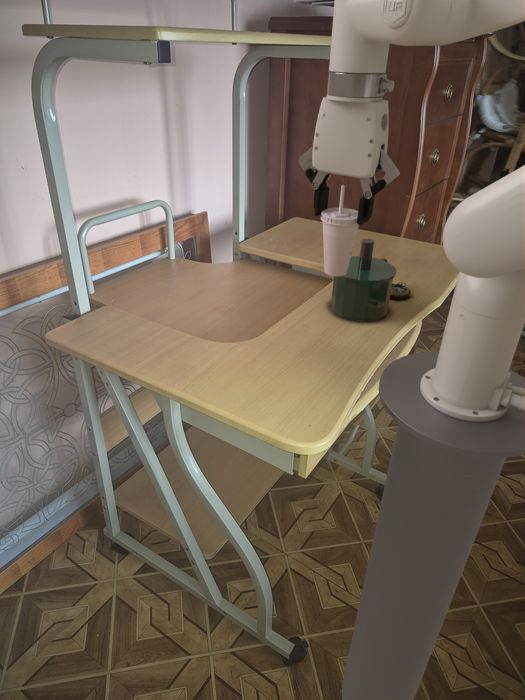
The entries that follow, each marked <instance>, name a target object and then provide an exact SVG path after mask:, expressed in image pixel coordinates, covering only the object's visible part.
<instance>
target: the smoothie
mask: <svg viewBox="0 0 525 700" xmlns="http://www.w3.org/2000/svg"><path fill="white" fill-rule="evenodd" d="M340 186H341V187H340V197H339V207H330V208H328V209H325V210H323V211H322V212H321V215H320V220H321V221H322V240H323V241H322V242H323V243H322V244H323V270H324V273H325V274H326V275H328V276H331V277H334V276H344V275H346V274H347V271H348V267H349V263H350V259H351V256H352V255H353V251H354V248H355V247H354V246H355V242H356V239H357V236H358V235H357V234H358V232H359V227H360V225H358V223H357V216H358V210H356V209H352V208H347V207H344V202H345V201H344V200H345V191H346V184H341V185H340Z"/></svg>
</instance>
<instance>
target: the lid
mask: <svg viewBox="0 0 525 700" xmlns="http://www.w3.org/2000/svg"><path fill="white" fill-rule="evenodd" d="M374 246H375V240H374V239H371V238H363V239H361V242H360V251H359V255H353V256H352V255H351V259H350V263H349V267H348V271H347V274H346V275H344V276H340V277H342V278H345V279H348V280H351V281H356V282H362V283H380V282H385V281H389V280H391V279H393V280H394V278H395V277H396V276H397V267H395V266H394V264H392V263H390V262H388V261H387V262H386V261H384V260H381V258H377V257H373V255H374Z"/></svg>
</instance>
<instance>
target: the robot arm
mask: <svg viewBox="0 0 525 700" xmlns="http://www.w3.org/2000/svg"><path fill="white" fill-rule="evenodd" d="M523 22H525V0H334V2H333V16H332V27H331V40H330V54H329V64H328V75H327V90H326V96H324V97H322V100H321V103H320V106H319V111H318V113H317V118H316V125H315V130H314V136H313V143H312V145H311V146H310V147H309V149H307V150H306V151H305V152H304V153H303V154H302V155H301V156H300V157H299V158H298V160H297V162H298V164H299V166H300V167H301V169H302V170H303V172H304V173H305V177H306V178H307V179H308V180H309V182H310V184H311V188H312V189H313V190H314V193H313V209H314V217H321V212H322V211H323V210H325V209H329V208H328V207H329V197H330V188H329V186H328V182H329V180H330V177H331V176H332V175H336V176H343V177H351V178H356V179H359V182H360V187H361V190H362V196H361V197H360V198H359V201H358V210H357V211H358V216H357V223H358V225H359V226H362V225H364V224H365V223H367V222H369V220H370V219H372V216H373V211H374V203H375V197H376V195H378V194H379V193H381V191H383V190H384V189H385V188H386V187H388V185H390V184H391V183H392V182H393V181H395V180H396V179H397V178H398V177H399V176H400V175H401V172H400V170H399V169H398V167H397V166H396V164H395V163H394V162H393V160H392V159H391V157H390V156H389V155H388V147H389V146H388V144H389V143H388V142H389V129H390V128H389V125H390V124H389V123H390V122H389V120H390V119H389V118H390V117H389V110H390V109H389V101H388V100H386V99H383V97H384V96H385V94H386V93H388V92H389V93H390V92H391V93H392V92H393V91H394V89H395V81H394V80H391V79H389V78H388V77H387V76H388V74H387V73H386V72H387V65H388V58H389V50H390V45H395V46H403V47H419V46H423V47H425V46H426V47H427V46H429V47H442V46H446V45H451V44H455V43H458V42H462V41H466V40H468V39H473V38H476V37H480V36H483V35H486V34H490V33H494V32H497V31H501V30H503V29H507V28H510V27H512V26H515V25H518V24H521V23H523ZM382 172H384V176H382V178H380V179H379V180H378V181H377V179H376V175H377V174H380V173H382ZM442 249H443V252H444V254H445V257H446V259H447V260H448V262H449V264H450V265H452V266H453V267H454V268H455V269H456V270H457V271H459V273H458V277H457V280H456V284H455V287H454V291H453V295H452V298H451V303H450V307H449V311H448V315H447V319H446V322H445V327H444V331H443V335H442V339H441V343H440V347H439V355H438V359H437V363H436V367H435V369H432V370H430V371H428V372H427V373H425V374H424V375H423V377H422V379H421V383H420V391H421V394H422V396H423V397H424V399H425V400H426V401H427V402H428V403H429V404H430V405H431V406H433V407H434V408H435V409H437V410H439V411H440V412H442V413H444V414H446V415H449V416H451V417H454V418H457V419H461V420H466V421H474V422H485V421H491V420H495V419H498V418H500V417H502V416H503V415H504V414H505V413H506V412H507V410H508V407H509V405H510V406H513V407H516V408H518V409H520V410H523V411H525V389H524V388H521V387H520V388H519V387H516V386H513V385H512V383H510V382H508V380H509V377H510V374H511V373H509V372H508V371H509V369H510V367H511V365H512V361H513V359H514V356H515V353H516V351H517V348H518V344H519V341H520V338H521V336H522V332H523V330H524V327H525V164H523V165H522V166H520V167H519V168H517V169H515V170H514V171H512V172H510V173H508V174H507V175H505V176H503V177H501V178H500V179H498V180H496V181H494V182H493V183H491V184H489V185H487V186H485V187H484V188H482V189H480V190H479V191H477V192H475V193H473V194H471V195H469V196H467V197H465V198H464V200H462V201H461V202H459V203H458V204H457V206H456V207H455V208H454V209H453V210H452V211H451V213H449V216H448V217H447V219H446V222H445V224H444V228H443V232H442Z"/></svg>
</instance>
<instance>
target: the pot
mask: <svg viewBox="0 0 525 700" xmlns="http://www.w3.org/2000/svg"><path fill="white" fill-rule="evenodd" d="M332 281H333V282H332V290H331V300H330V308H331V310H332V312H333V313H334V314H335V315H337V316H338V317H340V318H343V319H346V320H348V321H353V322H362V323H366V322H368V323H369V322H375V321H379V320H381V319H383V318H384V317H385V316H387V313H388V310H389V304H390V299H391V298H390V293H391V288H392V284H393V281H394V278H393V279H391V280H389V281H385V282H380V283H362V282H356V281H351V280H348V279H345V278H342V277H340V276H333V280H332Z"/></svg>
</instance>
